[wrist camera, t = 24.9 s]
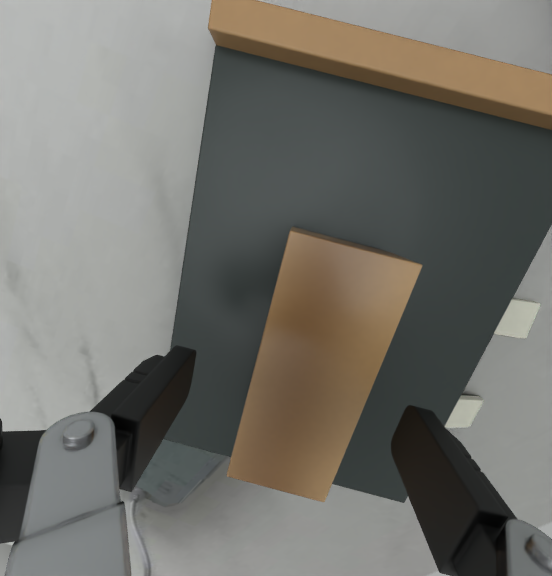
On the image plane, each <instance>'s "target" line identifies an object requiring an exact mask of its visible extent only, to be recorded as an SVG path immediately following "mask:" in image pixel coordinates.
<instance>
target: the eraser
mask: <svg viewBox="0 0 552 576" xmlns="http://www.w3.org/2000/svg"><path fill="white" fill-rule="evenodd" d="M421 268H422V265H421V264H419V263H417V262H414V261H412V260H409V259H406V258H404V257H401V256H399V255H396V254H394V253H391V252H388V251H386V250H383V249H379V248H376V247H372V246H368V245H364V244H360V243H356V242H353V241H349V240H345V239H341V238H337V237H333V236H330V235H326V234H322V233H318V232H314V231H310V230H307V229H303V228H299V227H295V226H292V228H291V230H290V232H289V236H288V240H287V244H286V247H285V251H284V255H283V259H282V263H281V267H280V271H279V274H278V278H277V282H276V286H275V290H274V294H273V298H272V301H271V305H270V309H269V313H268V317H267V321H266V325H265V328H264V332H263V336H262V340H261V344H260V348H259V352H258V355H257V359H256V363H255V367H254V371H253V375H252V379H251V382H250V386H249V390H248V394H247V398H246V402H245V405H244V409H243V413H242V417H241V421H240V425H239V429H238V432H237V436H236V440H235V444H234V448H233V452H232V456H231V459H230V463H229V467H228V471H227V476H228V477H231V478H235V479H239V480H242V481H246V482H250V483H254V484H257V485H261V486H265V487H269V488H272V489H276V490H280V491H283V492H287V493H291V494H295V495H298V496H302V497H306V498H310V499H313V500H317V501H321V502H325V500H326V497H327V495H328V492H329V490H330V487H331V485H332V483H333V480H334V478H335V475H336V473H337V471H338V468H339V466H340V463H341V461H342V459H343V456H344V454H345V451H346V449H347V447H348V444H349V442H350V439H351V437H352V434H353V432H354V430H355V427H356V425H357V422H358V420H359V418H360V415H361V413H362V410H363V408H364V406H365V403H366V401H367V398H368V396H369V394H370V391H371V389H372V386H373V384H374V381H375V379H376V377H377V374H378V372H379V369H380V367H381V365H382V362H383V360H384V357H385V355H386V353H387V350H388V348H389V345H390V343H391V341H392V338H393V336H394V333H395V331H396V328H397V326H398V324H399V321H400V319H401V316H402V314H403V312H404V309H405V307H406V304H407V302H408V300H409V297H410V295H411V292H412V290H413V288H414V285H415V283H416V280H417V278H418V275H419V273H420V271H421Z"/></svg>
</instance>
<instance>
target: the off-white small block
mask: <svg viewBox="0 0 552 576" xmlns="http://www.w3.org/2000/svg"><path fill="white" fill-rule="evenodd" d="M483 402H484V400H483V399H481V398H480V397H479V396H466V395H461V396H460V398H459V400H458V402H457V404H456V406H455V408H454V410H453V412H452V413H451V415H450V417H449V419H448V421H447V423H446V425H445V428H469V427H470V426H471V424H472V422H473V420H474V418H475V417H476V415H477V413H478V411H479V409H480V408H481V406H482V404H483Z"/></svg>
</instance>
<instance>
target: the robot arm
mask: <svg viewBox="0 0 552 576" xmlns="http://www.w3.org/2000/svg"><path fill="white" fill-rule="evenodd" d="M196 353H197V352H196V350H194V349H190V348H186V347H182V346H178V345H176V346H174V347H173V348H172V349H171V350H170V352H169V353H168V354H167V355H166V356H165V357H164V356H160V355H155V356H153V357H151V358H149V359H147V360H144V361H143V362H142V363H141V364H140V365H139V366H137V367H136V368H135V369H134V371H133V372H131V373H130V374H129V375H128V376H127V377H126V378H125V380H123V381H122V382H121V383H119V384H118V385H117V386H116V387H115V388H114V389H113V390H112V391H111V392H110V393H109V394H108V395H107V396H106V397H105V398H104V399H103V400H101V401H100V402H99V403H98V404H97V405H96V406H95V407H94V408H93V409H92V410H91V411H90V412H82V413H77V414H74V415H71V416H68V417H66V418H63V419H61V420H60V421H58V422H56V423H55V424H53V425H52V426H51V427H50V428H48V429H47V430H41V431H8V432H2V421H1V419H0V543H7V542H14V541H15V542H14V544H13V546H12V548H11V552H10V555H9V559H8V563H7V567H6V572H5V576H131V566H130V555H129V543H128V532H127V521H126V512H125V505H124V502H123V501H122V502H121V500H120V491H119V489H122V490H126V491H130V492H132V490H133V489H134V487H135V485H136V484H137V482H138V480H139V479H140V477H141V475H142V474H143V472H144V470H145V469H146V467H147V465H148V464H149V462H150V460H151V459H152V457H153V455H154V454H155V452H156V450H157V449H158V447H159V445H160V443H161V442H162V440H163V438H164V437H165V435H166V433H167V432H168V430H169V428H170V427H171V425H172V423H173V422H174V420H175V418H176V417H177V415H178V413H179V412H180V410H181V408H182V407H183V405H184V403H185V401H186V399H187V397H188V394H189V391H190V388H191V383H192V377H193V372H194V366H195V360H196ZM391 453H392V457H393V460H394V462H395V465H396V467H397V469H398V472H399V474H400V477H401V479H402V482H403V484H404V487H405V489H406V492H407V494H408V496H409V499H410V501H411V504H412V506H413V509H414V511H415V514H416V516H417V519H418V521H419V523H420V526H421V528H422V531H423V533H424V536H425V538H426V541H427V543H428V546H429V548H430V550H431V553H432V555H433V558H434V560H435V563H436V565H437V568H438V570H439V572H440V573H442V574H446V575H450V576H552V539H551V538H550V537H549V536H547V535H546V534H545V533H543V532H542V531H541V530H539V529H537V528H536V527H534V526H532V525H531V524H529V523H527V522H524V521H522V520H518V519H517V518H516V517H515V515H514V514H513V513H512V511H511V510H510V508H509V507H508V506H507V504H506V503H505V502H504V500H503V499H502V498H501V496H500V495H499V494H498V492H497V491H496V489H495V488H494V487H493V485H492V484H491V483H490V481H489V480H488V479H487V477H486V476H485V475H484V473H483V472H481V471H480V470H481V469H480V468H479V466H478V465H477V464H476V462H475V461H474V460H472V459H471V456H470V454H469V453H468V452H467V450H466V449H465V447H464V446H463V445H462V443H461V442H460V441H459V440H458V439H457V438H455V437H454V436H453V435H452V434H451V433H450V432H449V431H448V430H447V429H446V428H445V427H444V426H443V424H442V423H441V421H440V420H439V419H438V417H437V416H436V414H435V413H434V412H433V411H431V410H428V409H424V408H420V407H416V406H412V405H409V406H407V407H406V408H405V410H404V412H403V415H402V417H401V419H400V421H399V423H398V426H397V428H396V430H395V432H394V435H393V437H392V440H391Z"/></svg>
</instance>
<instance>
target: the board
mask: <svg viewBox="0 0 552 576" xmlns="http://www.w3.org/2000/svg"><path fill="white" fill-rule="evenodd" d="M208 29H209V31H210V33H211V35H212V37H213V39H214V42H215V44H216V47H215V54H214V60H213V67H212V74H211V80H210V87H209V94H208V101H207V107H206V114H205V121H204V127H203V134H202V141H201V148H200V154H199V161H198V168H197V174H196V181H195V188H194V195H193V201H192V208H191V215H190V221H189V228H188V235H187V241H186V248H185V255H184V262H183V268H182V275H181V282H180V288H179V295H178V302H177V309H176V315H175V322H174V329H173V335H172V342H171V349H172V348H173V347H174V346H176V345H178V346H182V347H186V348H190V349H194V350H196V352H197V353H196V360H195V366H194V372H193V377H192V383H191V388H190V391H189V394H188V397H187V399H186V401H185V403H184V405H183V407H182V408H181V410H180V412H179V413H178V415H177V417H176V418H175V420H174V422H173V423H172V425H171V427H170V428H169V430H168V432H167V433H166V435H165V437H164V438H163V439H165V440H169V441H173V442H176V443H180V444H184V445H188V446H192V447H195V448H199V449H203V450H207V451H210V452H214V453H218V454H222V455H225V456H229V457H231V456H232V452H233V448H234V444H235V440H236V436H237V432H238V429H239V425H240V421H241V417H242V413H243V409H244V405H245V402H246V398H247V394H248V390H249V386H250V382H251V379H252V375H253V371H254V367H255V363H256V359H257V355H258V352H259V348H260V344H261V340H262V336H263V332H264V328H265V325H266V321H267V317H268V313H269V309H270V305H271V301H272V298H273V294H274V290H275V286H276V282H277V278H278V274H279V271H280V267H281V263H282V259H283V255H284V251H285V247H286V244H287V240H288V236H289V232H290V230H291V228H292V226H295V227H299V228H303V229H307V230H310V231H314V232H318V233H322V234H326V235H330V236H333V237H337V238H341V239H345V240H349V241H353V242H356V243H360V244H364V245H368V246H372V247H376V248H379V249H383V250H386V251H388V252H391V253H394V254H396V255H399V256H401V257H404V258H406V259H409V260H412V261H414V262H417V263H419V264H421V265H422V268H421V271H420V273H419V275H418V278H417V280H416V283H415V285H414V288H413V290H412V292H411V295H410V297H409V300H408V302H407V304H406V307H405V309H404V312H403V314H402V316H401V319H400V321H399V324H398V326H397V328H396V331H395V333H394V336H393V338H392V341H391V343H390V345H389V348H388V350H387V353H386V355H385V357H384V360H383V362H382V365H381V367H380V369H379V372H378V374H377V377H376V379H375V381H374V384H373V386H372V389H371V391H370V394H369V396H368V398H367V401H366V403H365V406H364V408H363V410H362V413H361V415H360V418H359V420H358V422H357V425H356V427H355V430H354V432H353V434H352V437H351V439H350V442H349V444H348V447H347V449H346V451H345V454H344V456H343V459H342V461H341V463H340V466H339V468H338V471H337V473H336V475H335V478H334V480H333V483H332V484H335V485H339V486H342V487H346V488H350V489H354V490H357V491H361V492H365V493H369V494H372V495H376V496H380V497H384V498H388V499H391V500H395V501H399V502H403V503H404V502H405V500H406V498H407V496H408V494H407V492H406V489H405V487H404V484H403V482H402V479H401V477H400V474H399V472H398V469H397V467H396V465H395V462H394V460H393V457H392V453H391V440H392V437H393V435H394V432H395V430H396V428H397V426H398V423H399V421H400V419H401V417H402V415H403V412H404V410H405V408H406V407H407V406H409V405H412V406H416V407H420V408H424V409H428V410H431V411H433V412H434V413H435V414H436V416H437V417H438V419H439V420H440V421H441V423H442V424H443V426H444V427H445V425H446V423H447V421H448V419H449V417H450V415H451V413H452V412H453V410H454V408H455V406H456V404H457V402H458V400H459V398H460V396H461V395H462V393H463V391H464V389H465V387H466V385H467V383H468V381H469V379H470V378H471V376H472V374H473V372H474V370H475V368H476V366H477V364H478V362H479V361H480V359H481V357H482V355H483V353H484V351H485V349H486V347H487V345H488V344H489V342H490V340H491V338H492V336H493V334H494V332H495V330H496V328H497V327H498V325H499V323H500V321H501V319H502V317H503V315H504V313H505V311H506V310H507V308H508V306H509V304H510V302H511V300H512V298H513V296H514V294H515V293H516V291H517V289H518V287H519V285H520V283H521V281H522V279H523V277H524V276H525V274H526V272H527V270H528V268H529V266H530V264H531V262H532V260H533V259H534V257H535V255H536V253H537V251H538V249H539V247H540V245H541V243H542V242H543V240H544V238H545V236H546V234H547V232H548V230H549V228H550V226H551V225H552V75H551V74H547V73H543V72H539V71H535V70H531V69H527V68H523V67H519V66H515V65H511V64H507V63H503V62H499V61H495V60H491V59H487V58H483V57H479V56H476V55H472V54H468V53H464V52H460V51H456V50H452V49H448V48H444V47H440V46H436V45H432V44H428V43H424V42H420V41H416V40H412V39H408V38H404V37H400V36H396V35H392V34H388V33H384V32H380V31H376V30H372V29H368V28H364V27H360V26H356V25H352V24H348V23H344V22H340V21H336V20H332V19H328V18H324V17H320V16H316V15H312V14H308V13H304V12H300V11H296V10H292V9H288V8H285V7H281V6H277V5H273V4H269V3H265V2H261V1H257V0H212V3H211V10H210V17H209V24H208ZM171 349H170V350H171Z"/></svg>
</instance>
